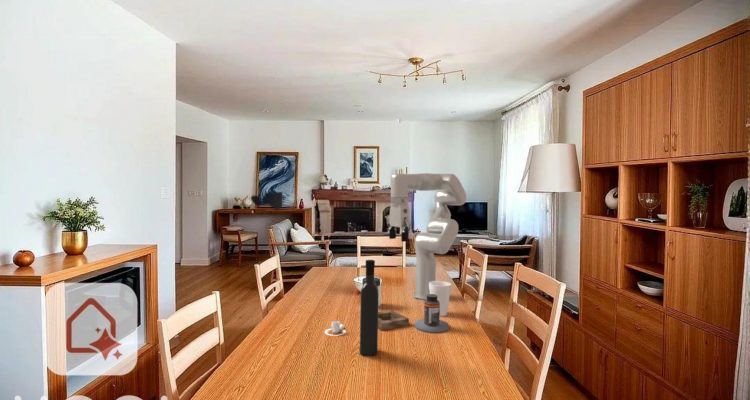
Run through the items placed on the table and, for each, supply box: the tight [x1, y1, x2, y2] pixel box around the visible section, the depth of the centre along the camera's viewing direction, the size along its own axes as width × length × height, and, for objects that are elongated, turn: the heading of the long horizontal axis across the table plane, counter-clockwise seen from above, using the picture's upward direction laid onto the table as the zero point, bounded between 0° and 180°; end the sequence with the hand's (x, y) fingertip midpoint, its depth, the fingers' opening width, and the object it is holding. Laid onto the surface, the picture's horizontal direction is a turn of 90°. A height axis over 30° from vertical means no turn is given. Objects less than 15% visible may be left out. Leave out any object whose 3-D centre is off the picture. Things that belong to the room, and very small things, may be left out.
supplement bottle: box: [423, 294, 441, 326], centre depth 153 cm, size 6×6×11 cm
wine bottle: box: [359, 259, 379, 356], centre depth 128 cm, size 6×6×30 cm
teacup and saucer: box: [324, 320, 347, 337], centre depth 146 cm, size 9×8×4 cm
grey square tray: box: [378, 309, 410, 331], centre depth 156 cm, size 12×12×2 cm
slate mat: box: [414, 318, 450, 334], centre depth 153 cm, size 13×13×1 cm
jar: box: [360, 276, 382, 308], centre depth 179 cm, size 9×8×12 cm
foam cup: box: [429, 280, 452, 317], centre depth 169 cm, size 10×9×13 cm
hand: (398, 239), depth 176 cm, fingers open, 9 cm apart
